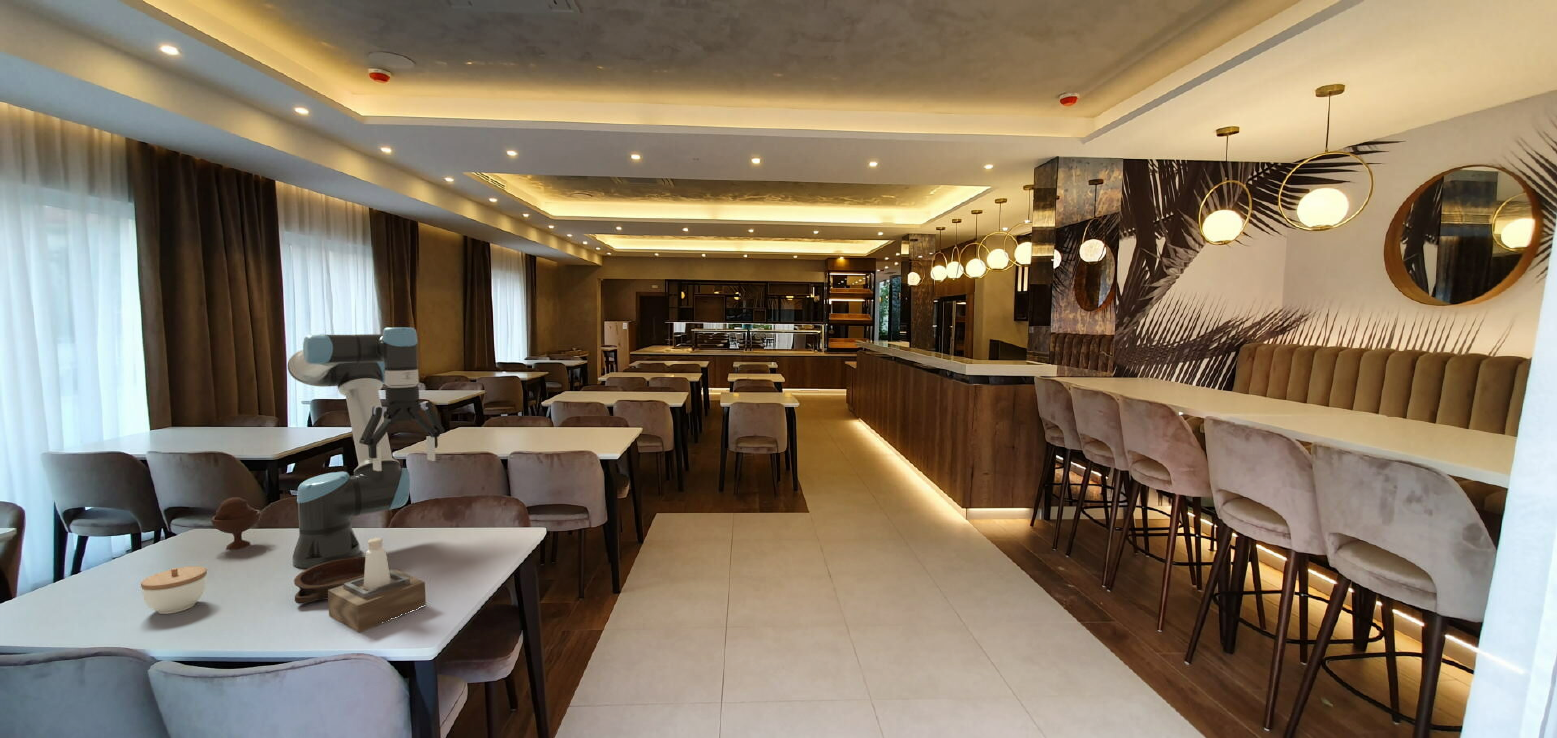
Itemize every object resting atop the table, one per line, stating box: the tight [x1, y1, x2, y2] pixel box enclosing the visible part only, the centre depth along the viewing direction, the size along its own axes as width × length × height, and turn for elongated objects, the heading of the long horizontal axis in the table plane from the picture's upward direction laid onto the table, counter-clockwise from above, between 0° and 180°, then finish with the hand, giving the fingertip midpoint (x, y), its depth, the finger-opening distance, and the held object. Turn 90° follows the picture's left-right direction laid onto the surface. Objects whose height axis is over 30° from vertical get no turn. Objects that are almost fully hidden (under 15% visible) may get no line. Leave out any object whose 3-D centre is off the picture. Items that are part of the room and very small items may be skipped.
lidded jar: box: [140, 566, 208, 615], centre depth 138 cm, size 11×11×9 cm
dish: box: [293, 556, 366, 605], centre depth 149 cm, size 17×22×5 cm
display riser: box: [327, 568, 427, 633], centre depth 137 cm, size 14×14×7 cm
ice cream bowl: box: [211, 496, 261, 550], centre depth 176 cm, size 11×11×15 cm
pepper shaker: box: [363, 537, 391, 590], centre depth 137 cm, size 5×5×11 cm
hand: (405, 465), depth 158 cm, fingers open, 13 cm apart
